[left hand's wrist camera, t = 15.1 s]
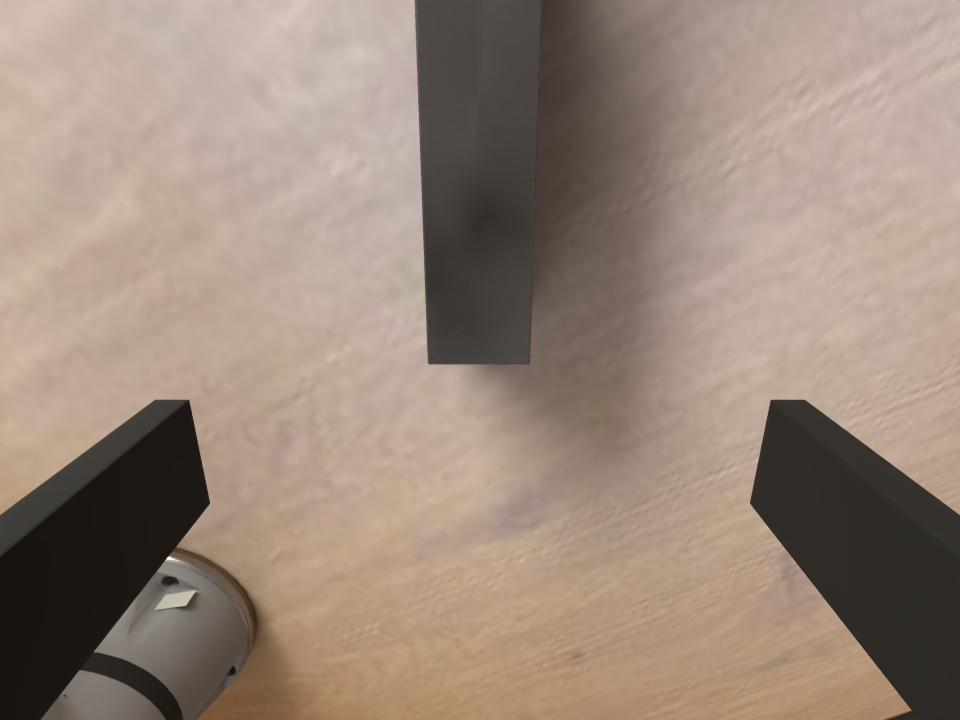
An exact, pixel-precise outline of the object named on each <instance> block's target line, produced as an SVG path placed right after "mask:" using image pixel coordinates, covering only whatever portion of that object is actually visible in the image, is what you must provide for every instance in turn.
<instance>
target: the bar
mask: <svg viewBox="0 0 960 720" xmlns="http://www.w3.org/2000/svg"><path fill="white" fill-rule="evenodd" d="M541 1H542V0H415V21H416V48H417V76H418V103H419V131H420V158H421V186H422V213H423V241H424V268H425V296H426V323H427V350H428V364H529V363H530V339H531V308H532V278H533V247H534V216H535V185H536V155H537V124H538V93H539V63H540V32H541Z"/></svg>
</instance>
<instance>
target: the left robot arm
mask: <svg viewBox="0 0 960 720" xmlns="http://www.w3.org/2000/svg"><path fill="white" fill-rule="evenodd" d="M209 504H210V501H209V496H208V491H207V486H206V481H205V476H204V471H203V466H202V461H201V456H200V451H199V446H198V441H197V436H196V431H195V426H194V421H193V416H192V411H191V406H190V402H189V400H154V401H153V402H152V403H150V404H149V405H148V406H146V407H145V408H144V409H142V410H141V411H140V412H138V413H137V414H136V415H134V416H133V417H132V418H130V419H129V420H127V421H126V422H125V423H123V424H122V425H121V426H119V427H118V428H117V429H115V430H114V431H113V432H111V433H110V434H109V435H107V436H106V437H105V438H103V439H102V440H101V441H99V442H98V443H97V444H95V445H94V446H93V447H91V448H90V449H88V450H87V451H86V452H84V453H83V454H82V455H80V456H79V457H78V458H76V459H75V460H74V461H72V462H71V463H70V464H68V465H67V466H66V467H64V468H63V469H62V470H60V471H59V472H58V473H56V474H55V475H54V476H52V477H51V478H50V479H48V480H47V481H45V482H44V483H43V484H41V485H40V486H39V487H37V488H36V489H35V490H33V491H32V492H31V493H29V494H28V495H27V496H25V497H24V498H23V499H21V500H20V501H19V502H17V503H16V504H15V505H13V506H12V507H11V508H9V509H8V510H7V511H5V512H4V513H2V514H1V515H0V720H197V719H198V717H199V716H200V715H201V714H202V713H203V712H204V711H205V710H206V709H207V708H208V707H209V706H210V705H211V704H212V703H213V701H214V700H215V699H216V698H217V697H218V696H219V695H220V694H221V693H222V691H223V690H224V689H225V688H227V686H228V685H229V684H230V683H231V682H232V681H233V680H234V678H235V677H236V676H237V674H238V673H239V672H240V670H241V669H242V667H243V665H244V664H245V661H246V659H247V657H248V655H249V653H250V651H251V649H252V646H253V643H254V640H255V635H256V620H255V615H254V611H253V608H252V606H251V603H250V601H249V599H248V598H247V596H246V594H245V593H244V591H243V590H242V588H241V587H240V586H239V585H238V583H237V582H236V581H235V580H234V579H233V578H232V577H231V576H230V575H229V574H227V573H226V572H225V571H224V570H223V569H221V568H220V567H218V566H217V565H216V564H214V563H212V562H211V561H209V560H207V559H205V558H203V557H201V556H199V555H197V554H195V553H192V552H190V551H187V550H184V549H181V548H177V547H176V546H177V545H178V544H179V542H180V541H181V540H182V539H183V537H184V536H185V535H186V533H187V532H188V531H189V530H190V528H191V527H192V526H193V525H194V523H195V522H196V521H197V519H198V518H199V517H200V516H201V514H202V513H203V512H204V510H205V509H206V508H207V507H208V505H209ZM750 504H751V505H752V507H753V508H754V509H755V510H756V512H757V513H758V514H759V516H760V517H761V518H762V519H763V521H764V522H765V523H766V525H767V526H768V527H769V528H770V530H771V531H772V532H773V533H774V535H775V536H776V537H777V539H778V540H779V541H780V542H781V544H782V545H783V546H784V548H785V549H786V550H787V551H788V553H789V554H790V555H791V557H792V558H793V559H794V560H795V562H796V563H797V564H798V565H799V567H800V568H801V569H802V571H803V572H804V573H805V574H806V576H807V577H808V578H809V580H810V581H811V582H812V583H813V585H814V586H815V587H816V588H817V590H818V591H819V592H820V594H821V595H822V596H823V597H824V599H825V600H826V601H827V603H828V604H829V605H830V606H831V608H832V609H833V610H834V611H835V613H836V614H837V615H838V617H839V618H840V619H841V620H842V622H843V623H844V624H845V626H846V627H847V628H848V629H849V631H850V632H851V633H852V635H853V636H854V637H855V638H856V640H857V641H858V642H859V643H860V645H861V646H862V647H863V649H864V650H865V651H866V652H867V654H868V655H869V656H870V658H871V659H872V660H873V661H874V663H875V664H876V665H877V666H878V668H879V669H880V670H881V672H882V673H883V674H884V675H885V677H886V678H887V679H888V681H889V682H890V683H891V684H892V686H893V687H894V688H895V689H896V691H897V692H898V693H899V695H900V696H901V697H902V698H903V700H904V701H905V702H906V704H907V705H908V706H909V707H910V709H911V710H912V711H913V712H914V714H915V715H916V716H917V718H918V719H919V720H960V515H959V514H958V513H956V512H955V511H953V510H952V509H951V508H949V507H948V506H947V505H945V504H944V503H943V502H941V501H940V500H939V499H937V498H936V497H935V496H933V495H932V494H931V493H929V492H928V491H927V490H925V489H924V488H923V487H921V486H920V485H919V484H917V483H916V482H915V481H913V480H912V479H910V478H909V477H908V476H906V475H905V474H904V473H902V472H901V471H900V470H898V469H897V468H896V467H894V466H893V465H892V464H890V463H889V462H888V461H886V460H885V459H884V458H882V457H881V456H880V455H878V454H877V453H876V452H874V451H873V450H872V449H870V448H869V447H867V446H866V445H865V444H863V443H862V442H861V441H859V440H858V439H857V438H855V437H854V436H853V435H851V434H850V433H849V432H847V431H846V430H845V429H843V428H842V427H841V426H839V425H838V424H837V423H835V422H834V421H833V420H831V419H830V418H828V417H827V416H826V415H824V414H823V413H822V412H820V411H819V410H818V409H816V408H815V407H814V406H812V405H811V404H810V403H808V402H807V401H806V400H771V402H770V406H769V411H768V416H767V421H766V426H765V431H764V436H763V441H762V446H761V451H760V456H759V461H758V466H757V471H756V476H755V481H754V486H753V491H752V496H751V501H750Z"/></svg>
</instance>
